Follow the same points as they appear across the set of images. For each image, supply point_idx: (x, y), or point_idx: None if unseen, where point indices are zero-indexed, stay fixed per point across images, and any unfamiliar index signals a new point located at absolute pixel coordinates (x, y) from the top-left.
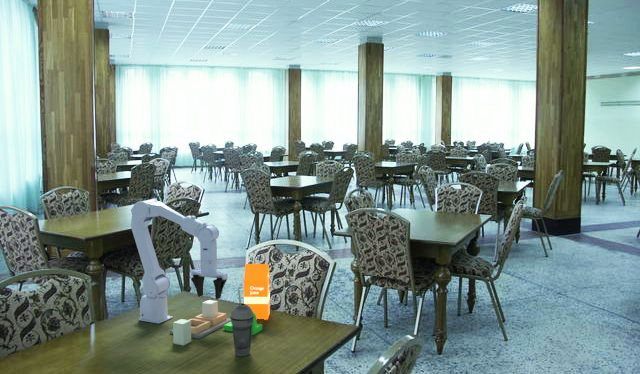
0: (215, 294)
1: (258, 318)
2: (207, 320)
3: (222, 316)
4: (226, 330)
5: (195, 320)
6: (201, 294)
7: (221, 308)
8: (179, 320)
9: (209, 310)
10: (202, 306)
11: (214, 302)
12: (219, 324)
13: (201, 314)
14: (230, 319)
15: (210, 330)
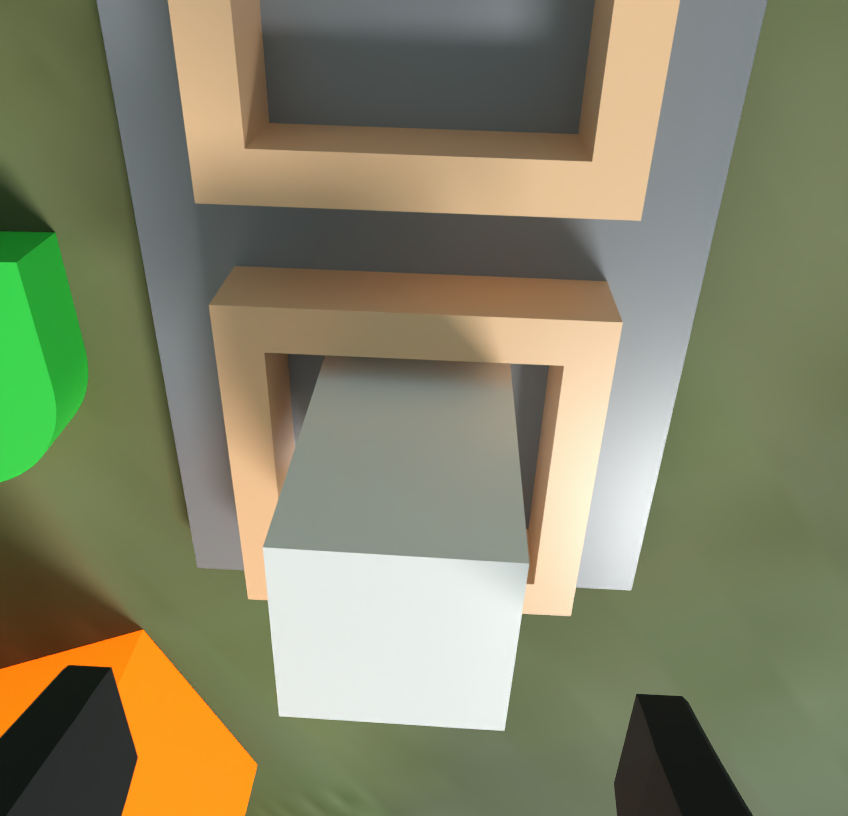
0: (30, 768)
1: (3, 677)
2: (343, 299)
3: (241, 513)
4: (6, 233)
5: (500, 156)
6: (628, 785)
7: (600, 807)
8: None
9: (332, 454)
10: (506, 503)
11: (273, 642)
12: (187, 336)
13: (575, 462)
14: (205, 545)
15: (103, 24)
